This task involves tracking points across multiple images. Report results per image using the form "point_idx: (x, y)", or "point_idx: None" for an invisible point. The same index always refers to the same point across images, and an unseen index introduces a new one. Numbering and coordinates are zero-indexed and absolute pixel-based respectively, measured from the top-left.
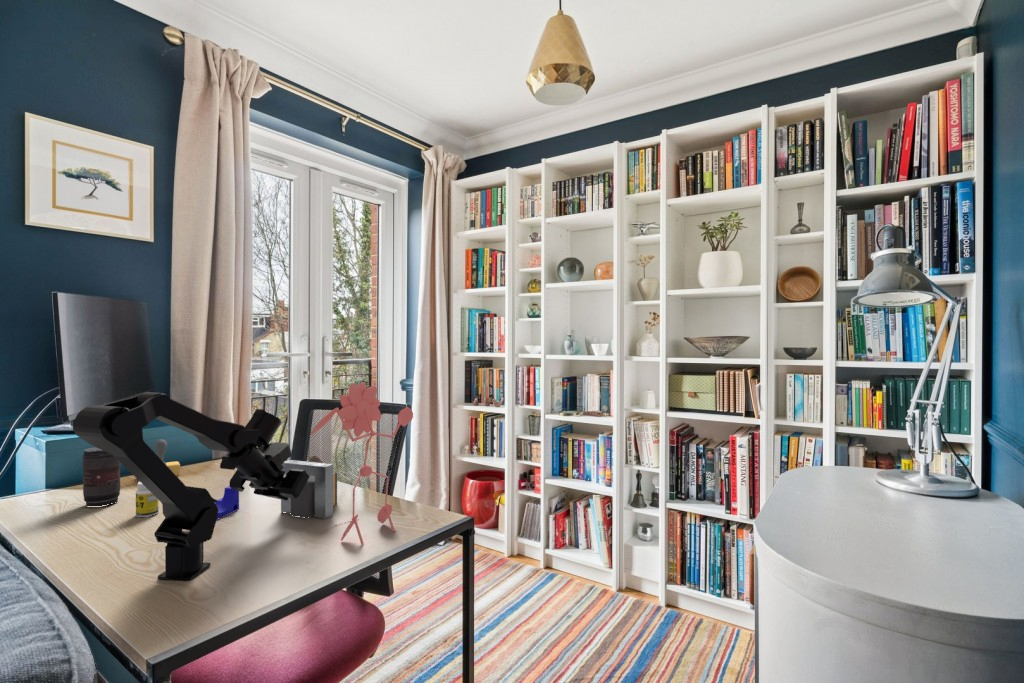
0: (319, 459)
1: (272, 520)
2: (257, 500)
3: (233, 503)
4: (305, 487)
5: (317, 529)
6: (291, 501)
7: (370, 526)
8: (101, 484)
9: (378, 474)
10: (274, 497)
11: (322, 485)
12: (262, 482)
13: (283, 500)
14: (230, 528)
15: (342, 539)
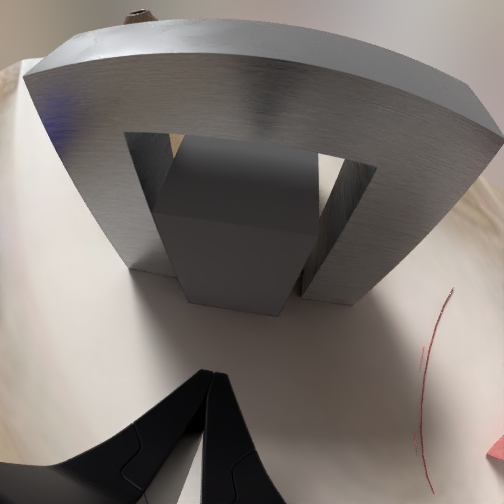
0: (152, 16)
1: (134, 354)
2: (30, 180)
3: None
4: (295, 245)
5: (385, 410)
6: (181, 275)
7: (495, 325)
8: None
9: None
10: (178, 496)
11: (412, 226)
12: None
13: (122, 243)
14: (38, 438)
15: (493, 453)
